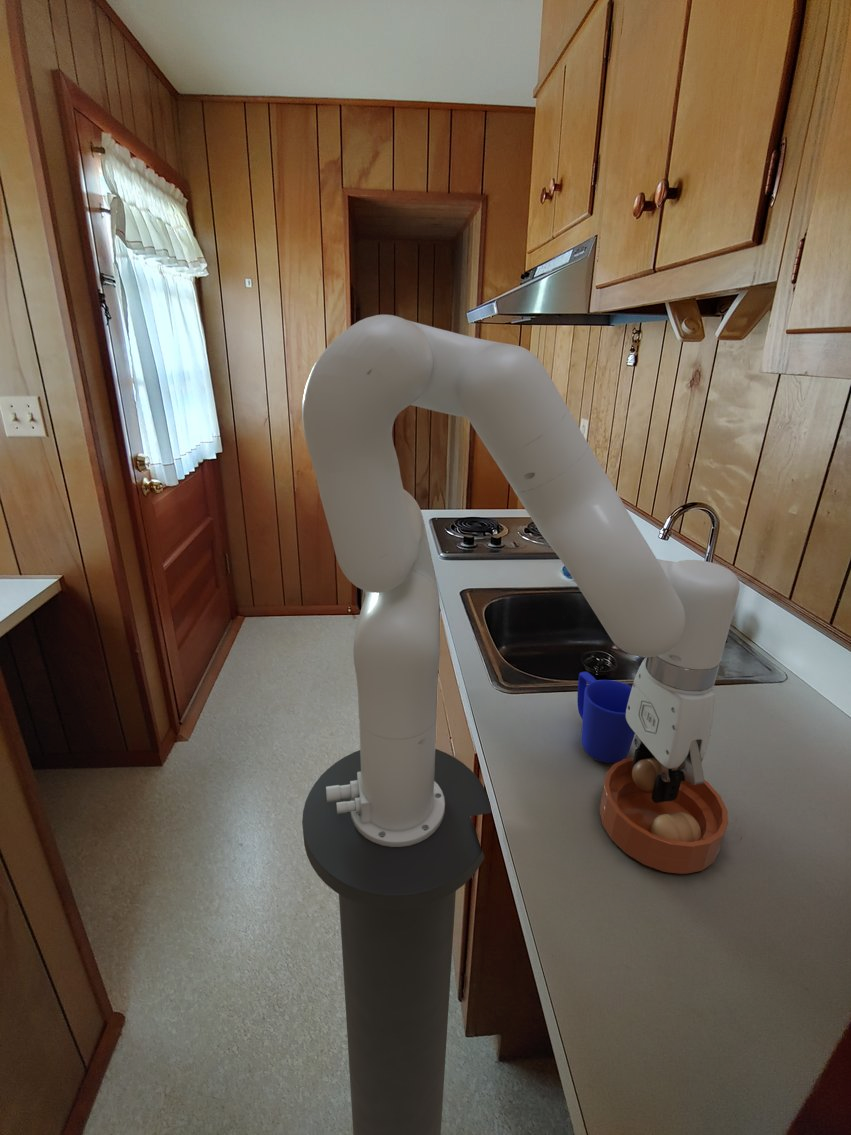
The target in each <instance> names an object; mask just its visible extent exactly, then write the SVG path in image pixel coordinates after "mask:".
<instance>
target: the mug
mask: <svg viewBox="0 0 851 1135" xmlns="http://www.w3.org/2000/svg"><path fill="white" fill-rule="evenodd" d="M577 682H578V683H577V697H576V698H577V699H576V700H577V701H576V702H577V710H578V714H579V717H580V718H581V720H582V724H581V738H580V739H581V745H582V747H583V750H584V751H585V752H586V754H587V755H588V756H590V757H591V758H593V759H594V760H596V761H598V762H602V763H606V764H615V763H617V762H619V761H621V760H623V759H626V758H627V756H628V754H629V752H630V750H631V746H632V744H633V742H634V739H635V736H636V734H635V732H634V731H633V730H632V729H631V727H630V726H629V724H628V723H627V720H626V709H627V704H628V700H629V696H630V692H631V689H632V686H630V685H629V684H627V683H623V682H621V681H619V680H612V679H598V680H597V679H596V678H595V677H594V676H593V675H592V674H591V673H590V672H588V671H581V672H579V674H578V681H577Z"/></svg>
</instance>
